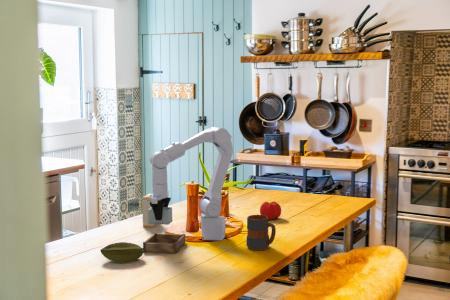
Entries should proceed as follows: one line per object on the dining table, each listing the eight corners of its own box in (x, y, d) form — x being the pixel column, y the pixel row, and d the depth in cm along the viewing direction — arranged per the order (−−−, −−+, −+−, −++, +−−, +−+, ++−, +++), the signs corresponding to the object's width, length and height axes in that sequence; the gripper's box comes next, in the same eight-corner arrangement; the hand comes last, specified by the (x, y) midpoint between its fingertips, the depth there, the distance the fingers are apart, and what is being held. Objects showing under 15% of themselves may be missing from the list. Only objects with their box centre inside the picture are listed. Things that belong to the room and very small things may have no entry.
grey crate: (172, 221, 230) (172, 207, 229) (168, 224, 225) (168, 210, 224) (152, 220, 231) (152, 206, 231) (148, 223, 226) (147, 209, 226)
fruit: (124, 268, 201) (124, 249, 200) (99, 262, 207) (98, 243, 206) (147, 259, 210) (146, 241, 209) (122, 253, 217) (121, 236, 216)
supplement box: (153, 227, 253) (152, 197, 251) (142, 227, 254) (141, 196, 252) (159, 222, 261) (158, 193, 259) (148, 222, 262) (147, 193, 260)
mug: (269, 254, 214) (268, 222, 212) (241, 248, 221) (241, 217, 220) (281, 248, 221) (281, 217, 219) (254, 243, 228) (254, 213, 226)
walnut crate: (185, 243, 228) (185, 233, 228) (175, 253, 215) (175, 243, 215) (154, 242, 231) (154, 232, 230) (143, 252, 218) (142, 242, 217)
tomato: (257, 220, 263) (257, 203, 262) (263, 215, 271) (263, 199, 270) (277, 222, 259) (277, 205, 258) (283, 217, 267) (283, 201, 266)
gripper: (156, 179, 234) (157, 213, 236) (143, 186, 220) (144, 222, 222) (173, 180, 232) (174, 214, 234) (161, 187, 218) (162, 223, 220)
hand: (160, 218), depth 228 cm, fingers closed on grey crate, 5 cm apart
